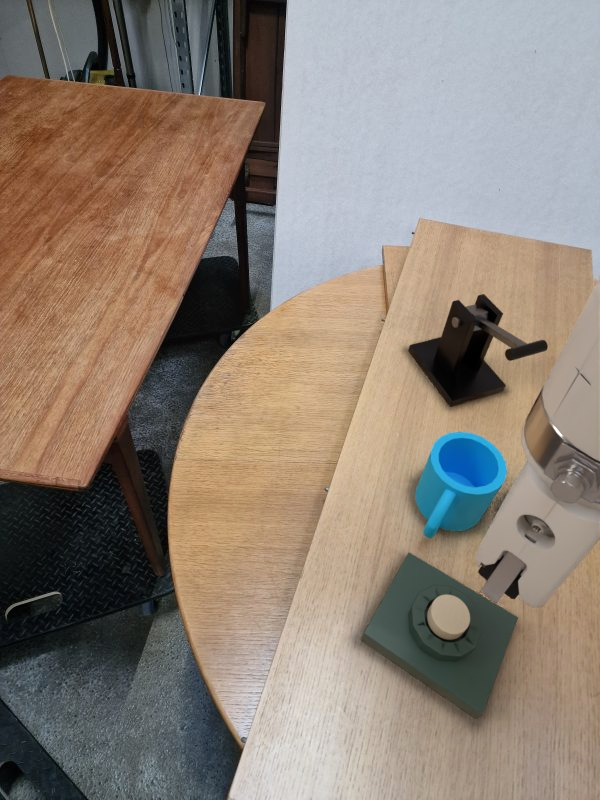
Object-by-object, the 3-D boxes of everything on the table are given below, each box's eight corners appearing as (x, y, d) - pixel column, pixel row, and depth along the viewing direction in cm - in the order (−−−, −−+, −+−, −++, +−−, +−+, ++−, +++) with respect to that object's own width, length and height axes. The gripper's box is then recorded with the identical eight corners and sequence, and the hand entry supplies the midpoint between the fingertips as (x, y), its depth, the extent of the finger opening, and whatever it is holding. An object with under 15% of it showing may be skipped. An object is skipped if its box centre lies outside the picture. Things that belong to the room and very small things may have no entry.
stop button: (470, 615, 49) (476, 608, 48) (456, 648, 47) (461, 642, 46) (436, 593, 51) (440, 586, 49) (420, 625, 49) (424, 618, 47)
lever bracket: (503, 391, 74) (534, 328, 65) (450, 406, 72) (474, 344, 63) (457, 337, 81) (480, 274, 72) (407, 350, 79) (424, 287, 70)
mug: (432, 460, 66) (449, 420, 59) (493, 493, 63) (517, 455, 57) (387, 530, 59) (400, 493, 53) (453, 571, 56) (475, 537, 50)
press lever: (545, 356, 62) (549, 339, 61) (511, 366, 61) (515, 348, 59) (481, 318, 71) (483, 302, 70) (450, 325, 70) (452, 309, 69)
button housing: (510, 624, 53) (525, 610, 50) (475, 718, 47) (489, 709, 44) (404, 560, 57) (412, 544, 54) (360, 640, 51) (365, 627, 48)
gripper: (621, 586, 22) (495, 693, 35) (722, 397, 29) (585, 546, 43) (465, 481, 25) (405, 616, 39) (591, 335, 32) (503, 492, 46)
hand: (500, 579), depth 41 cm, fingers closed
